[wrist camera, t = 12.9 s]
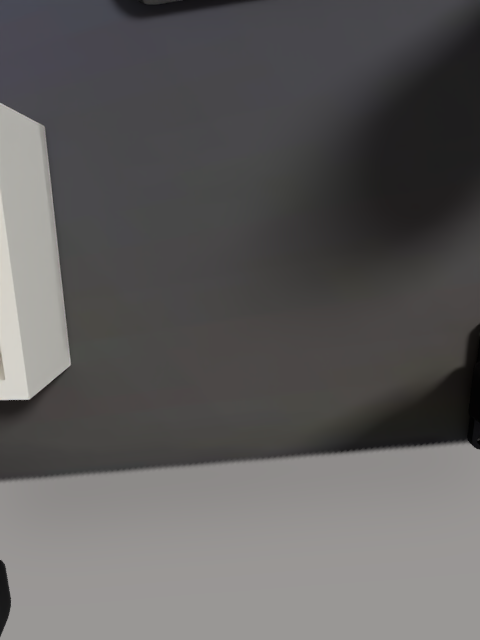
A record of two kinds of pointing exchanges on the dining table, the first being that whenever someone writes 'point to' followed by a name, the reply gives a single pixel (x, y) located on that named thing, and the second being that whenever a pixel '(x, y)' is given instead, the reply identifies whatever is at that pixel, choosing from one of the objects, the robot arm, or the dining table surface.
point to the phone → (156, 1)
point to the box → (28, 263)
